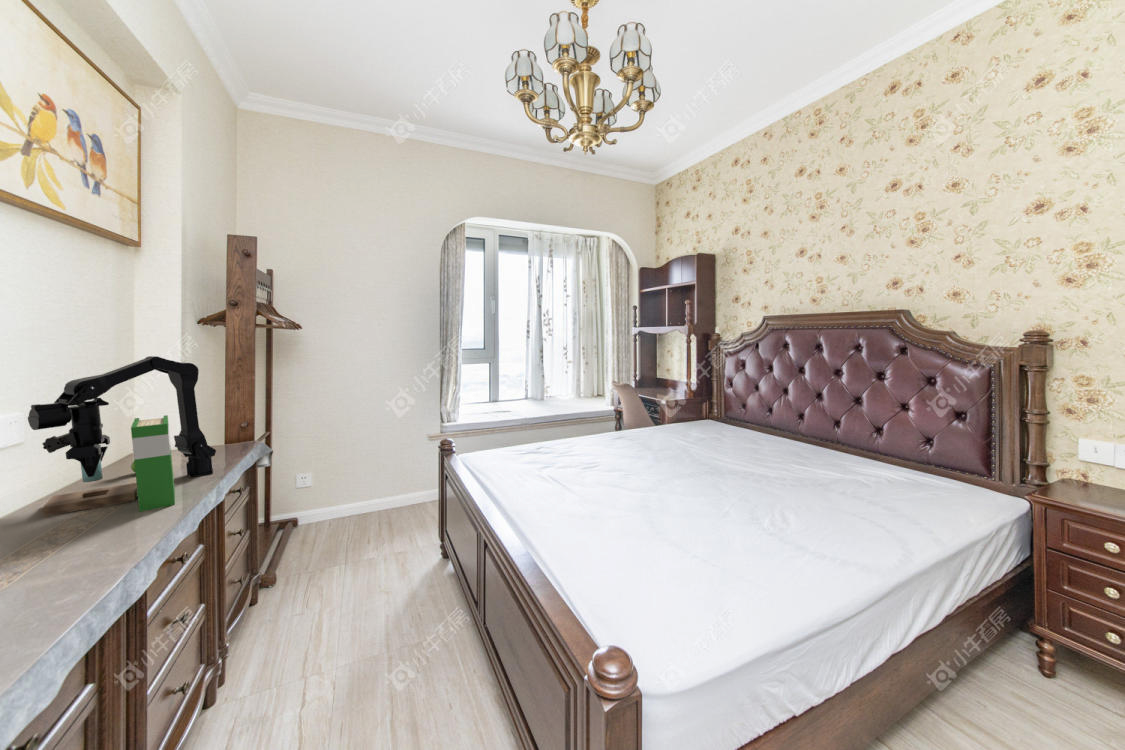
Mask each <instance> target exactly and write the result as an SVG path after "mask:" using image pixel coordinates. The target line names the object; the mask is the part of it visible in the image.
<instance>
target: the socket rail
mask: <svg viewBox="0 0 1125 750" xmlns="http://www.w3.org/2000/svg"><path fill="white" fill-rule="evenodd" d="M136 499H138V492H137V482H133V483H127V484H121V485H114V486H108V487H102V488H96V489H95V488H94V489H88V490H82V491H76V492H71V493H70V492H69V493H63V494H57V495H53V496H52V497H51V498H50V499H49V500H48V501H47V502H46V503H45V504H44V505H43V506H42V507H41V509H42V516H43V517H47V516H54V515H59V514H66V513H70V512H71V511H72V512H76V511H82V510H87V509H94V508H98V507H104V506H110V505H116V504H122V503H128V502H133V501H136ZM72 512H71V513H72Z"/></svg>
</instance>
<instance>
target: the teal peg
mask: <svg viewBox="0 0 1125 750" xmlns="http://www.w3.org/2000/svg"><path fill="white" fill-rule="evenodd" d="M102 467H103V466H102V461H101V459H100V461H99V464H98V467H97V469H96V472H95V474H94V476H93V477H88V476H87V474H86V472H85V470H84V468H83V466H82V464H81V463H80V469H81V479H82V483H92V482H97V481H100V480H102V479H103V469H102Z"/></svg>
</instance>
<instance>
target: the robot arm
mask: <svg viewBox="0 0 1125 750" xmlns="http://www.w3.org/2000/svg"><path fill="white" fill-rule="evenodd" d="M152 371H157V372H160V373H164V374H167V375H168V378H169V381H170V383H171V384H172V385H173V387H174V388H175V392H176V398H177V399H176V400H177V406H178V415H179V421H180V422H179V423H180V432H179V434H178V435H177V434H176V435H174V436H173V439H174V448H176V449H177V451H179V452H180V453H182V454H183V455H184V457H185V458H187V461H186V464H185V465H186V474H187V476H188V478H192V477H193V478H194V477H200V476H207V475H211V474H214V468H213V459H212V457H215V455H216V452H217V450H216V449H215V448H213V447H212V446H210V445H208V442H207V438H206V436H205V433H203V431H202V430H201V428H200V424H199V417H198V416H199V415H198V408H197V400H196V391H195V389H196V388H195V387H196V386H197V383H198V381H199V372H200V371H199V366H197V365H196V364H194V363H193V362H192V363H191V362H178V361H175V360H170V359H167V358H163V357H161V356H156V355H155V356H153V355H151V356H146V357H145V358H143V359H140V360H137V361H135V362H132V363H129V364H126V365H124V366H122V367H119V368H115V369H113V370H110V371H108V372H105V373H102V374H97V375H91V376H86V377H82V378H78V379H73V380H70V381H68V382H67V383H65V385H64V387H63V392H62V393H61V394H60V395H59V396H58V397H57V398H56V400H55V401H54V402H53V403H44V404H42V403H41V404H39V403H38V404H31V405H30V410H29V413H28V416H27V420H28V421H27V422H28V425H29V426H30V428H31V429H32V430H34V431H37V430H44V429H52V428H60V427H65V426H67V425H68V423H71V428H70V429H69V430H68V433H65V434H61V435H59V436H56V435H53V436H51V437H48V438H46V439H45V440H44V442H42V443H41V444H42V445H43V447H42V448H43V449H44V450H46V451H47V452H48V453H49V454H51V453H54V452H56V451H58V450H60V449H63V448H67V447H68V446H70V448H69V449H68V450H67V451H65V459H66V460H75V461H78V462H79V463H80V465H81V464H82V466H83V468H84V470H85V472H86V474H87V476H88V477H93V476H94V474H95V472H96V469H97V467H98V464H99V461H100V459H101V462H102V461H103V458H104V456H105V454H106V452H107V450H108V447H109V446H107V445H110V443H111V437H110V436H108V435H107V434H103V427H104V424H103V423H102V421H101V420H102V419H101V410H100V407H102V406H109V405H110V402H108V401H105V400H104V399H102V398H101V397H100V396H103V395H104V394H105V393H107V392H108V391H110V390H111V389H112V388H113V387H115V386H117V385H119V384H122V383H124V382H127V381H130V380H132V379H135V378H137V377H140V376H142V375H145V374H147V373H150V372H152ZM102 444H105V445H106V446H101V445H102Z"/></svg>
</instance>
